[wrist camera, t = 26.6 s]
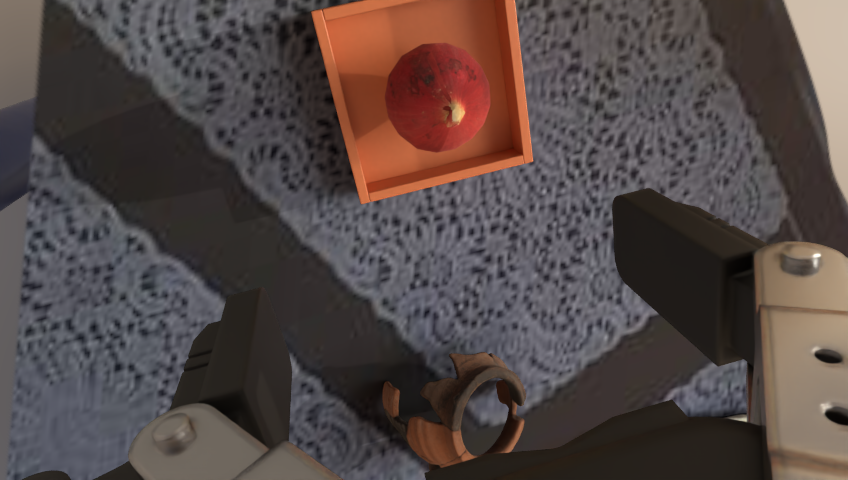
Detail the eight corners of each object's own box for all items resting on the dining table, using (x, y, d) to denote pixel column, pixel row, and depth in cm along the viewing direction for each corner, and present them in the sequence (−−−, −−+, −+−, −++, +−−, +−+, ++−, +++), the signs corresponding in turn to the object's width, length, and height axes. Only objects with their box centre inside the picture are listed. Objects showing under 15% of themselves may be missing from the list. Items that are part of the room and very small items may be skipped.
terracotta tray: (357, 192, 36) (361, 204, 34) (310, 11, 32) (310, 11, 30) (520, 152, 38) (533, 161, 35) (497, -30, 33) (511, -32, 31)
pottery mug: (368, 348, 42) (436, 378, 35) (463, 319, 47) (537, 341, 41) (381, 494, 44) (447, 549, 37) (471, 450, 49) (542, 491, 43)
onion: (360, 70, 33) (373, 90, 26) (443, 19, 33) (480, 25, 26) (408, 152, 36) (432, 191, 28) (485, 105, 35) (530, 132, 28)
